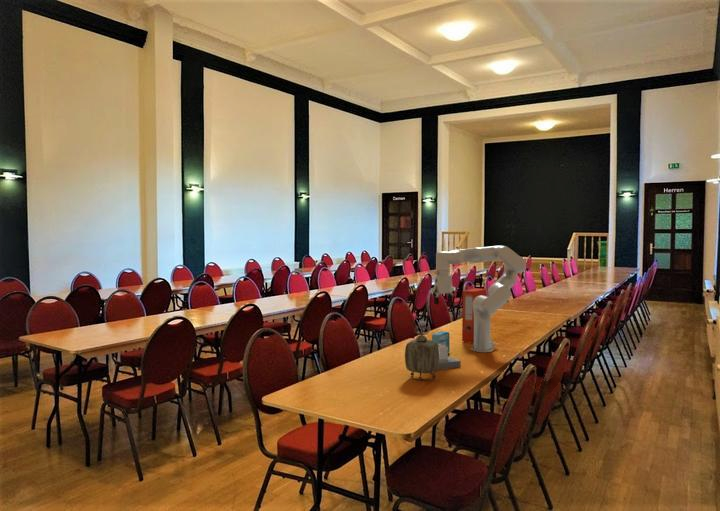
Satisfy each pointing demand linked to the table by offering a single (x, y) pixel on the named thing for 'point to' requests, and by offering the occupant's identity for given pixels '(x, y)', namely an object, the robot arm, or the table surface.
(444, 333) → the data package
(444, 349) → the block
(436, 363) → the tabletop clock
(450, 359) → the grey square tray
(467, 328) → the file binder
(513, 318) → the table surface
